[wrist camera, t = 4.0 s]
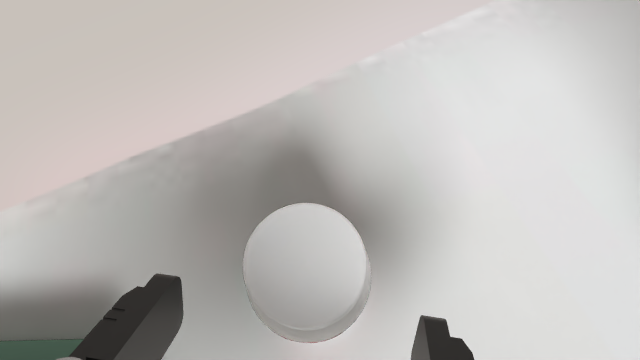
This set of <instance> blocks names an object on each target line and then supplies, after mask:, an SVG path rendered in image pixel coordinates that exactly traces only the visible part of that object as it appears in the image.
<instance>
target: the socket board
mask: <svg viewBox="0 0 640 360" xmlns="http://www.w3.org/2000/svg"><path fill="white" fill-rule="evenodd" d="M83 340H84V339H65V340H24V341H0V360H56V359H60V358H65V357H68V356H69V355H70V354H71V353H72V352H73V351H74V350H75V349H76V348H77V346H78V345H79V344H80V343H81V342H82V341H83Z"/></svg>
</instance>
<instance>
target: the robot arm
mask: <svg viewBox="0 0 640 360" xmlns="http://www.w3.org/2000/svg"><path fill="white" fill-rule="evenodd" d="M182 319H183V300H182V286H181V279H180V277H177V276H170V275H164V274H155V275H154V276H153V277H152V278H151V280H150V281H149V282H148V283H147V284H146V286H145V287H138V286H137V287H136V288H134V289H133V290H131V291H129V292H128V293H126V294H125V295H123V296H122V297H121V298H120V299H119V300H118V301H117V303H116V304H115V305H114V306H113V307H112V310H109V312H108V313H107V314H106V315H105V316H104V318H103V320H101V321H100V322H99V323H98V324H97V325H96V326H95V327H94V328H93V330H92V331H91V332H90V333H89V334H88V335H87V336H86V337H85V339H84V340H83V341H82V342H81V343H80V344H79V345H78V346H77V348H76V349H75V350H74V351H73V352H72V353H71V354H70V355H69V356H68V357H65V358H60V359H56V360H161V359H162V357H163V355H164V354H165V352H166V351H167V349H168V347H169V346H170V344H171V342H172V341H173V339H174V337H175V336H176V334H177V333H178V331H179V329H180V326H181V323H182ZM411 360H474V357H473V354H472V352H471V351H470V349H469V348H468V347H467V345H466V344H465V343H464V341H463V340H462V339H460V338H454V337H450V334H449V330H448V325H447V322H446V320H445V319H442V318H436V317H430V316H423V315H421V317H420V320H419V324H418V328H417V332H416V336H415V340H414V344H413V349H412V354H411Z"/></svg>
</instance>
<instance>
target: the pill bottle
mask: <svg viewBox="0 0 640 360" xmlns="http://www.w3.org/2000/svg"><path fill="white" fill-rule="evenodd" d="M243 277H244V282H245V285H246V288H247V292H248V296H249V300H250V302H251V305H252V307H253V309H254V311H255V313H256V314H257V316H258V317H259V318H260V320H261V321H262V322H263V323H264V324H265V325H266V326H267V327H268V328H269V329H271V330H272V331H273V332H274V333H276V334H278V335H280V336H282V337H284V338H285V339H289V340H292V341H297V342H303V343H317V342H322V341H326V340H329V339H332V338H334V337H336V336H338V335H340V334H341V333H343V332H344V331H345V330H346V329H347V328H349V327H350V326H351V325H352V324H353V323H354V322H355V321H356V319H357V318H358V317H359V315H360V314H361V312H362V310H363V309H364V307H365V305H366V302H367V299H368V297H369V293H370V287H371V266H370V261H369V257H368V254H367V252H366V250H365V247H364V244H363V241H362V239H361V237H360V235H359V233H358V231H357V230H356V228H355V227H354V225H353V224H352V223H351V222H350V221H349V220H348V219H347V218H346V217H344V216H343V215H342V214H341V213H339V212H338V211H336V210H334V209H332V208H330V207H327V206H324V205H321V204H315V203H296V204H291V205H287V206H285V207H282V208H280V209H278V210H276V211H274V212H273V213H271V214H270V215H268V216H267V217H266V218H265V219H263V220H262V221H261V222H260V223H259V225H258V226H257V227H256V228H255V230H254V231H253V233H252V234H251V236H250V238H249V240H248V243H247V245H246V248H245V252H244V257H243Z"/></svg>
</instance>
